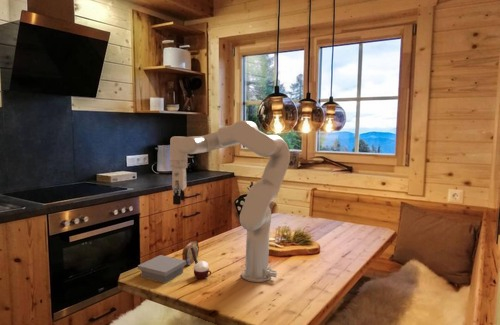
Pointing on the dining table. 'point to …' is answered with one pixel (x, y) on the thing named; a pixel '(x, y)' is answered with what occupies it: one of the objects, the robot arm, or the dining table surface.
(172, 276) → the stand
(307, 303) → the dining table surface
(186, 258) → the tin
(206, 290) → the dining table surface
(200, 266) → the cocoa
